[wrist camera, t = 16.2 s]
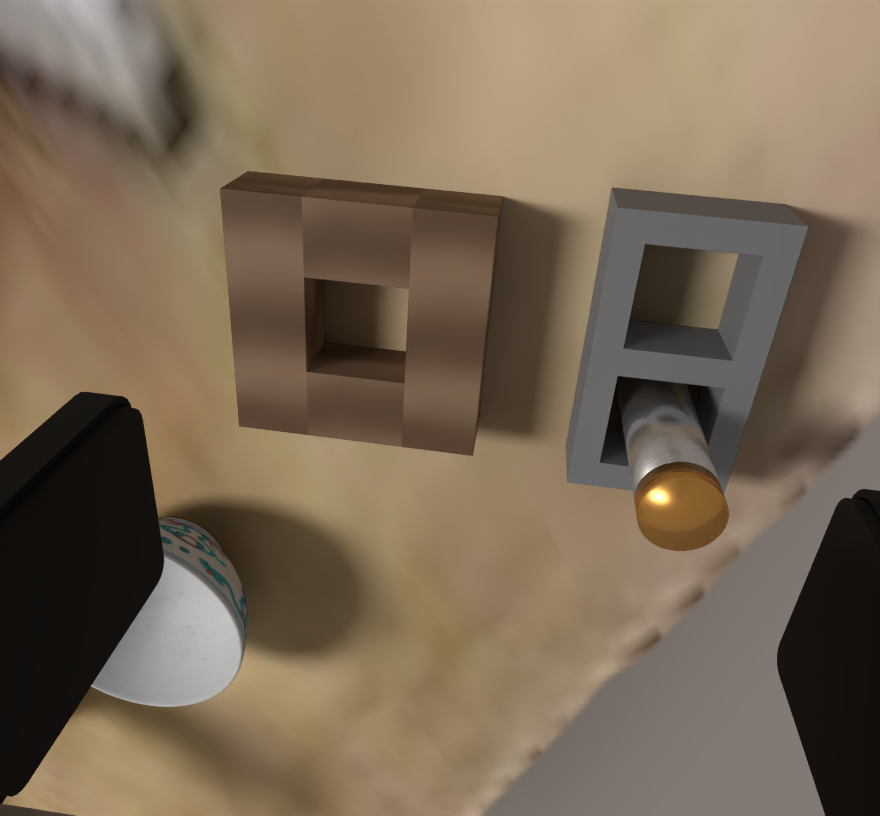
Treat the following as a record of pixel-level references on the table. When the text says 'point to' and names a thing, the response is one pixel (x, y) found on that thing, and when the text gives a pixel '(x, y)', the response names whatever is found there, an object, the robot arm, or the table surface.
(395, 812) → the table surface
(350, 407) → the socket block
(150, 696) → the chinaware
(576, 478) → the gray cinder block
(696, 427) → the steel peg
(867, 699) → the robot arm
